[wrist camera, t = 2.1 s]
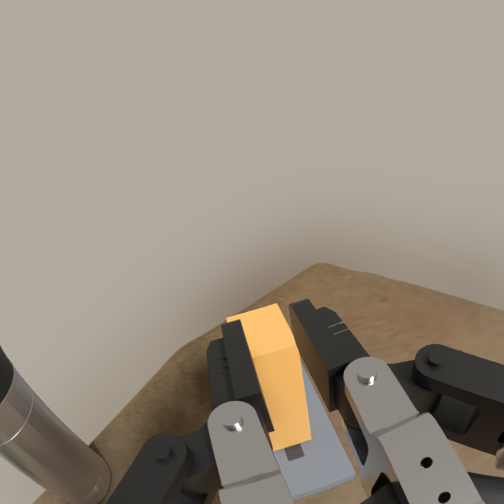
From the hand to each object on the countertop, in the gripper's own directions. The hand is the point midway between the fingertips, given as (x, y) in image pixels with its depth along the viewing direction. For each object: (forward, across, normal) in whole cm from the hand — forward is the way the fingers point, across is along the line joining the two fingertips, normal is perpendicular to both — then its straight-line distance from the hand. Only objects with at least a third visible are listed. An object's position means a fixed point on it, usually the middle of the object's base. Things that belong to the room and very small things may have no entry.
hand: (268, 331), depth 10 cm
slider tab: (+7, 0, +20) cm, 21 cm away
